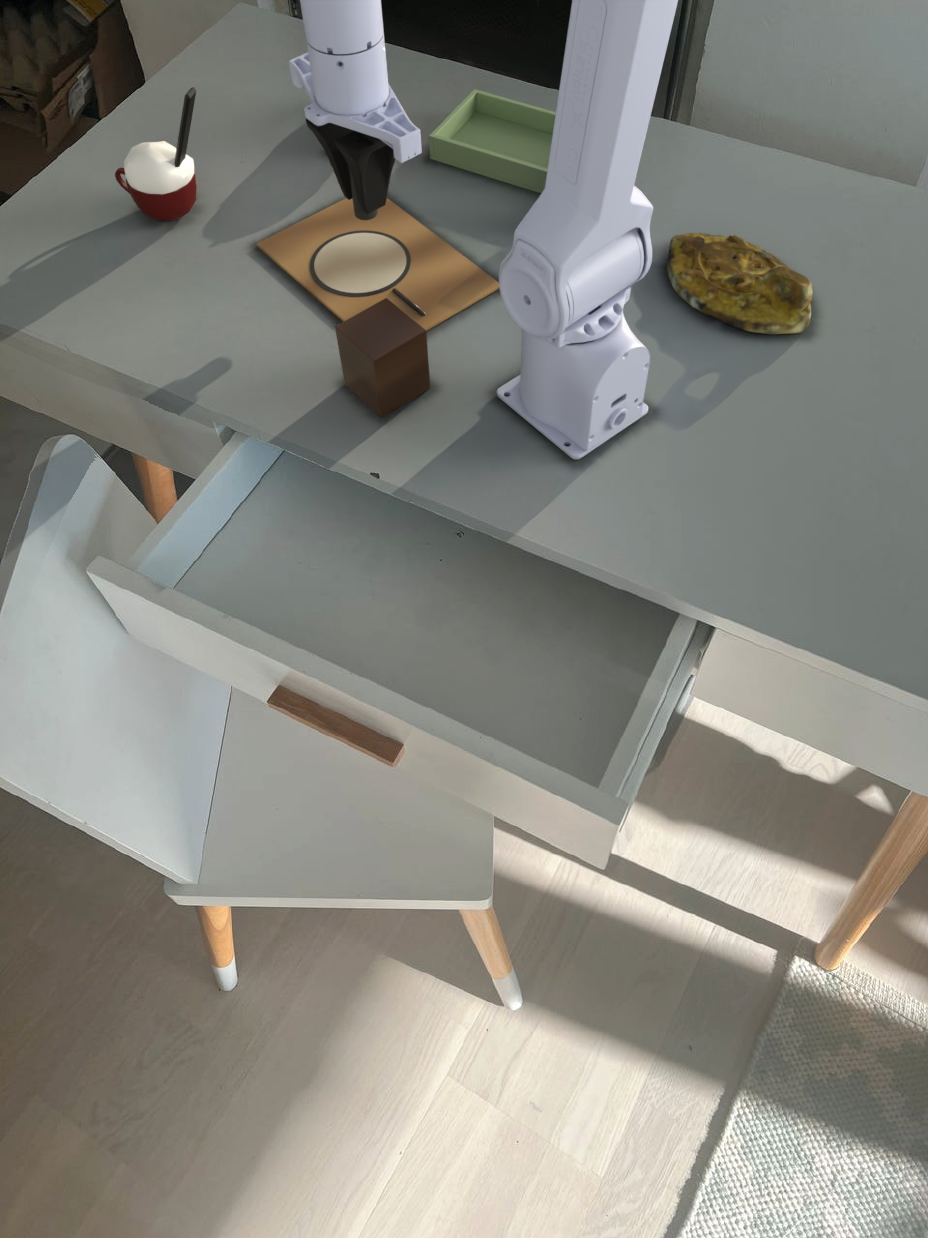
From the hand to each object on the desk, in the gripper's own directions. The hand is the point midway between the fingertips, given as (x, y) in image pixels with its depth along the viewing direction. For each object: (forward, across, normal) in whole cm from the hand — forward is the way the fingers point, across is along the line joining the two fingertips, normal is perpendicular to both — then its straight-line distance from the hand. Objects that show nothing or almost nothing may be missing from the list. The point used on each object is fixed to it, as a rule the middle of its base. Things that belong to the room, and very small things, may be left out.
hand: (365, 200), depth 85 cm
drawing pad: (+6, +1, 0) cm, 6 cm away
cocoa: (+6, -18, -10) cm, 21 cm away
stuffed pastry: (+6, +24, +21) cm, 33 cm away
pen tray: (+6, -3, +20) cm, 21 cm away
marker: (+1, 0, 0) cm, 1 cm away
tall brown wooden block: (+6, +14, -9) cm, 17 cm away
